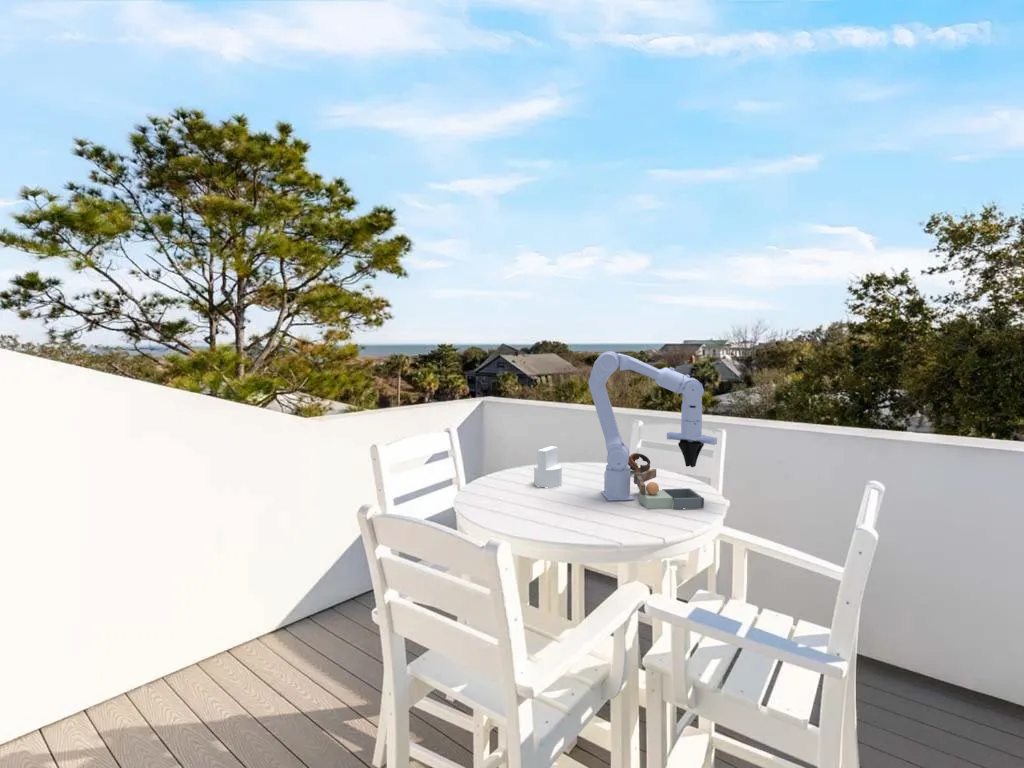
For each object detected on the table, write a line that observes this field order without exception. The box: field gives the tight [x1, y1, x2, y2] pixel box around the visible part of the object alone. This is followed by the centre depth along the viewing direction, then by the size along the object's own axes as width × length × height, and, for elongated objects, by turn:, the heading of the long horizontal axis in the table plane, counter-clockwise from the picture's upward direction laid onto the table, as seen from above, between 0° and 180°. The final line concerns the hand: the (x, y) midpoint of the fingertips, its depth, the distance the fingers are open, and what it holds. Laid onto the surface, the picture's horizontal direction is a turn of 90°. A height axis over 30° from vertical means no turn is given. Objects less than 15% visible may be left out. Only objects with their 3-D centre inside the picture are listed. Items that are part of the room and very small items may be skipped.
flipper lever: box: [633, 468, 657, 495], centre depth 180 cm, size 23×6×3 cm, turn 159°
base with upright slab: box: [533, 445, 563, 489], centre depth 194 cm, size 9×9×12 cm
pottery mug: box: [628, 452, 651, 473], centre depth 208 cm, size 12×10×8 cm
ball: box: [646, 481, 660, 495], centre depth 171 cm, size 4×4×4 cm
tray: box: [661, 487, 705, 510], centre depth 172 cm, size 11×8×3 cm
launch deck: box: [638, 489, 673, 510], centre depth 171 cm, size 8×7×3 cm
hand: (690, 466), depth 174 cm, fingers closed
